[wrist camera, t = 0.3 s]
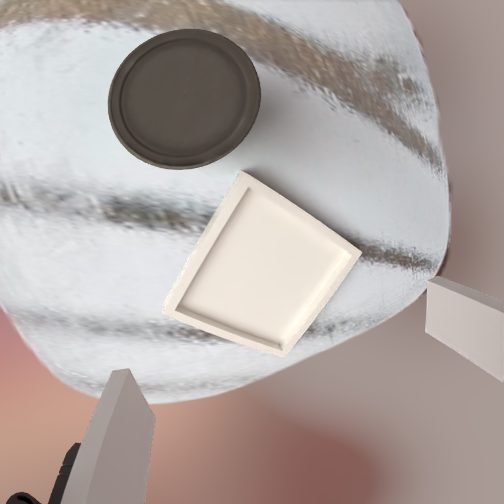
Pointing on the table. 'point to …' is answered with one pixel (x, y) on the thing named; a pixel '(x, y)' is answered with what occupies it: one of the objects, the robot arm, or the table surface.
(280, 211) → the serving tray
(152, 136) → the coffee can
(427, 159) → the table surface
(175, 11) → the table surface
